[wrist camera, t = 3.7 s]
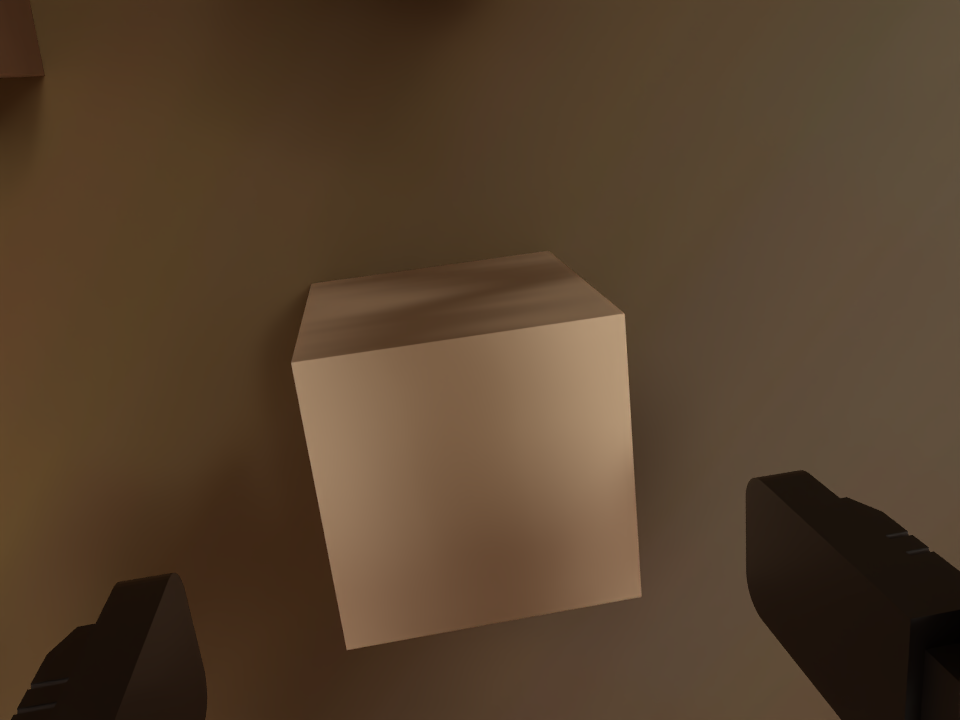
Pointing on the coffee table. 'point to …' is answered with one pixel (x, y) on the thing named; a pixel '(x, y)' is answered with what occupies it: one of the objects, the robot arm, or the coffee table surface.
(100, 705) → the robot arm
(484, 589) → the maple block
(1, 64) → the walnut block
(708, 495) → the coffee table surface
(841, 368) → the coffee table surface
